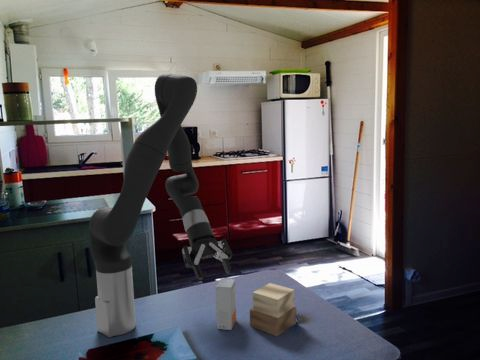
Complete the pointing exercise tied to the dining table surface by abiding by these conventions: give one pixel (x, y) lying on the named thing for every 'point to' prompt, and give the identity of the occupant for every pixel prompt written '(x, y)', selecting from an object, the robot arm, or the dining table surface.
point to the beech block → (273, 300)
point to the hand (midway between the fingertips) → (215, 275)
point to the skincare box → (226, 304)
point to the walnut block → (273, 321)
